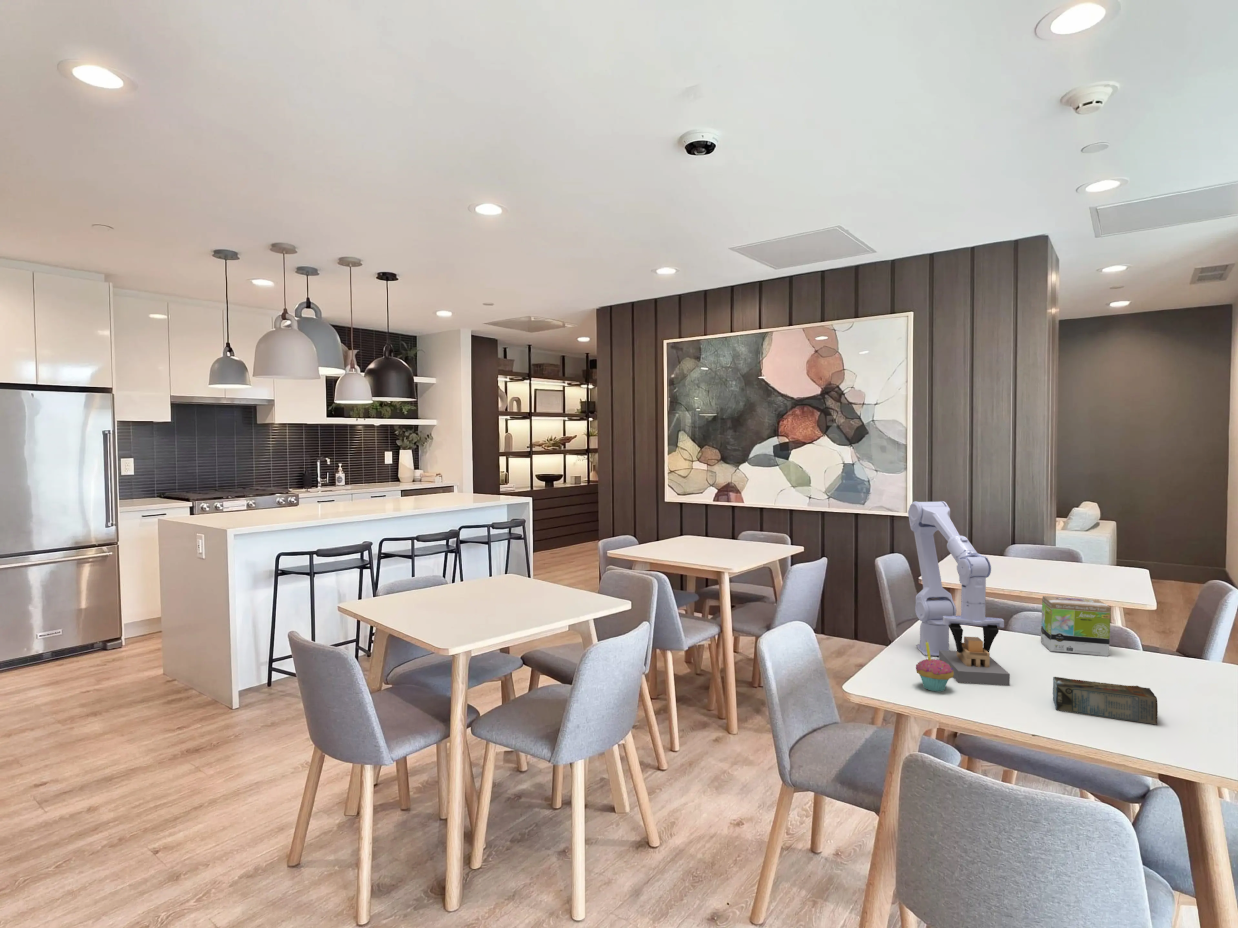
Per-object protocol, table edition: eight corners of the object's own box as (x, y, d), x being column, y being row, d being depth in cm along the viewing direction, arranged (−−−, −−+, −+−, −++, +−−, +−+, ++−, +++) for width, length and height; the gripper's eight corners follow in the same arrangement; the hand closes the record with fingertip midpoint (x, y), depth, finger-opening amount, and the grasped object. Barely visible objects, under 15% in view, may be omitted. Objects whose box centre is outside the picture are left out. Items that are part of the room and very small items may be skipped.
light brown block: (963, 647, 186) (964, 636, 185) (977, 648, 185) (978, 637, 185) (968, 651, 182) (968, 640, 182) (982, 652, 181) (983, 641, 181)
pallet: (956, 655, 188) (956, 642, 188) (977, 656, 187) (978, 643, 187) (967, 666, 179) (967, 652, 179) (989, 667, 178) (989, 653, 178)
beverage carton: (1051, 699, 165) (1052, 672, 164) (1151, 714, 156) (1152, 685, 156) (1054, 711, 157) (1055, 682, 157) (1159, 727, 149) (1160, 697, 148)
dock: (939, 660, 193) (939, 650, 193) (985, 663, 191) (985, 652, 191) (958, 682, 176) (958, 671, 175) (1009, 685, 173) (1009, 673, 173)
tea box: (1050, 652, 201) (1051, 602, 200) (1040, 642, 210) (1041, 594, 210) (1110, 657, 196) (1111, 605, 196) (1097, 647, 206) (1098, 597, 205)
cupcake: (914, 690, 170) (914, 642, 170) (917, 680, 178) (917, 633, 177) (952, 696, 166) (953, 647, 166) (954, 685, 174) (954, 638, 173)
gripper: (948, 603, 180) (947, 655, 181) (1008, 606, 177) (1007, 658, 178) (940, 597, 187) (940, 647, 187) (998, 600, 184) (998, 650, 185)
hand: (972, 652), depth 183 cm, fingers open, 6 cm apart
